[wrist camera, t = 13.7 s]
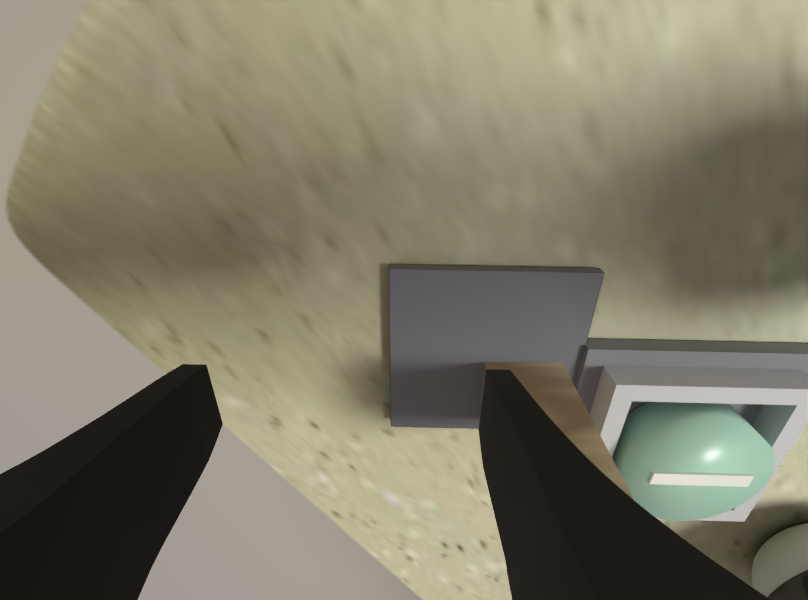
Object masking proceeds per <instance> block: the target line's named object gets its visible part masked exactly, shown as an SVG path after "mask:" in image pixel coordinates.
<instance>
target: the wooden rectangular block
mask: <svg viewBox="0 0 808 600" xmlns="http://www.w3.org/2000/svg"><path fill="white" fill-rule="evenodd" d="M486 369H496V370H511V371H512V372H513V374H514V375H515V376H516V377H517V379H518V380H519V381H520V382H521V384H522V385H523V386H524V387H525V389H526V390H527V391H528V392H529V394H530V395H531V396H532V397H533V398H534V400H535V401H536V402H537V403H538V404H539V406H540V407H541V408H542V409H543V410H544V412H545V413H546V414H547V415H548V416H549V417H550V418H551V420H552V421H553V422H554V423H555V424H556V425H557V426H558V427H559V429H560V430H561V431H562V432H563V433H564V434H565V435H566V436H567V437H568V438H569V439H570V441H571V442H572V443H573V444H574V445H575V446H576V447H577V448H578V449H579V450H580V451H581V452H582V453H583V454H584V455H585V456H586V457H587V458H588V459H589V460H590V461H591V462H592V463H593V464H594V465H595V466H596V467H597V468H598V469H599V470H600V471H601V472H602V473H604V474H605V475H606V476H607V477H608V478H609V479H610V480H611V481H613V482H614V483H615V484H616V485H617V486H618V487H619V488H621V489H622V490H623V491H624V492H625V493H626V494H627V495H628V496H630V497H631V498H632V499H633V497H632V495H631V493H630V491H629V489H628V488H627V486H626V484H625V482H624V480H623V478H622V476H621V474H620V472H619V470H618V468H617V467H616V465H615V463H614V461H613V459H612V457H611V455H610V453H609V451H608V449H607V447H606V446H605V444H604V442H603V440H602V438H601V436H600V434H599V432H598V430H597V428H596V426H595V425H594V423H593V421H592V419H591V417H590V415H589V413H588V411H587V409H586V407H585V405H584V403H583V402H582V400H581V398H580V396H579V394H578V392H577V390H576V388H575V386H574V384H573V382H572V381H571V379H570V377H569V375H568V373H567V371H566V369H565V367H564V365H563V363H532V362H486V363H485V372H486ZM485 372H484V380H485ZM483 389H484V382H483ZM482 397H483V391H482ZM481 405H482V400H481ZM480 413H481V410H480ZM633 500H634V499H633ZM507 574H508V570H507ZM508 579H509V575H508ZM509 585H510V581H509ZM510 590H511V587H510Z"/></svg>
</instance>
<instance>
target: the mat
mask: <svg viewBox="0 0 808 600" xmlns="http://www.w3.org/2000/svg"><path fill="white" fill-rule="evenodd" d="M603 277H604V272H603V271H602V270H601V269H600V268H569V267H514V266H460V265H405V264H390V391H391V426H394V427H433V428H472V429H479V422H480V410H481V400H482V391H483V382H484V372H485V363H486V362H532V363H563V365H564V367H565V369H566V371H567V373H568V375H569V377H570V379H571V381H572V382H573V384H574V386H575V384H576V380H577V376H578V372H579V368H580V365H581V361H582V357H583V353H584V349H585V345H586V342H587V338H588V334H589V330H590V326H591V323H592V319H593V315H594V311H595V307H596V303H597V300H598V296H599V292H600V288H601V284H602V281H603Z"/></svg>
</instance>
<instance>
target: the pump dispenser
mask: <svg viewBox="0 0 808 600" xmlns="http://www.w3.org/2000/svg"><path fill="white" fill-rule="evenodd" d="M751 578H752V586H753V588H754V589H755V590H757V591H758V592H760V593H761V594H763V595H765V596H766V597H768V598H769V599H771V600H808V523H805V524H800V525H796V526H793V527H790V528H787V529H785V530H783V531H781V532H779V533H777V534H775V535H774V536H772V537H771V538H770V539H768V540H767V541H766V542H765V543H764V544H763V545H762V546H761V548H760V549H759V550H758V552H757V554H756V556H755V558H754V561H753V565H752V571H751Z"/></svg>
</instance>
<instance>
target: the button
mask: <svg viewBox="0 0 808 600" xmlns="http://www.w3.org/2000/svg"><path fill="white" fill-rule="evenodd" d="M612 459H613V461H614V463H615V465H616V467H617V468H618V470H619V472H620V474H621V476H622V478H623V480H624V482H625V484H626V486H627V488H628V489H629V491H630V493H631V495H632V497H633V499H634V501H635V502H637V503H638V504H639V505H640V506H642V507H643V508H644V509H645V510H646V511H648V512H649V513H650V514H651V515H653V516H654V517H656V518H660V519H665V520H674V521H688V520H697V519H703V518H708V517H712V516H715V515H719V514H722V513H724V512H727V511H729V510H731V509H734V508H736V507H738V506H740V505H741V504H743V503H745V502H746V501H748V500H749V499H751V498H752V497H753V496H754V495H756V494H757V493H758V492H759V491H760V490H761V489H762V488H763V487H764V486H765V484H766V483H767V482H768V480H769V479H770V477H771V475H772V473H773V470H774V466H775V455H774V452H773V449H772V448H771V446H770V445H769V443H768V442H767V441H766V440H765V439H764V438H763V437H762V436H761V435H760V434H759V433H758V432H757V431H756V430H755V429H754V428H753V427H752V426H751V425H750V424H749V423H748V422H747V421H746V420H745V419H744V418H743V417H742V416H741V415H740V414H739V413H738V412H737V411H736V410H735V409H734V408H733V407H732V406H731V405H730V404H721V403H680V402H647V403H645V404H643V405H641V406H640V407H638V408H636V409H635V410H633V411H632V412H631V413H629V414H628V415H627V417H626V420H625V422H624V425H623V428H622V431H621V434H620V437H619V439H618V442H617V445H616V448H615V451H614V454H613V456H612Z"/></svg>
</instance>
